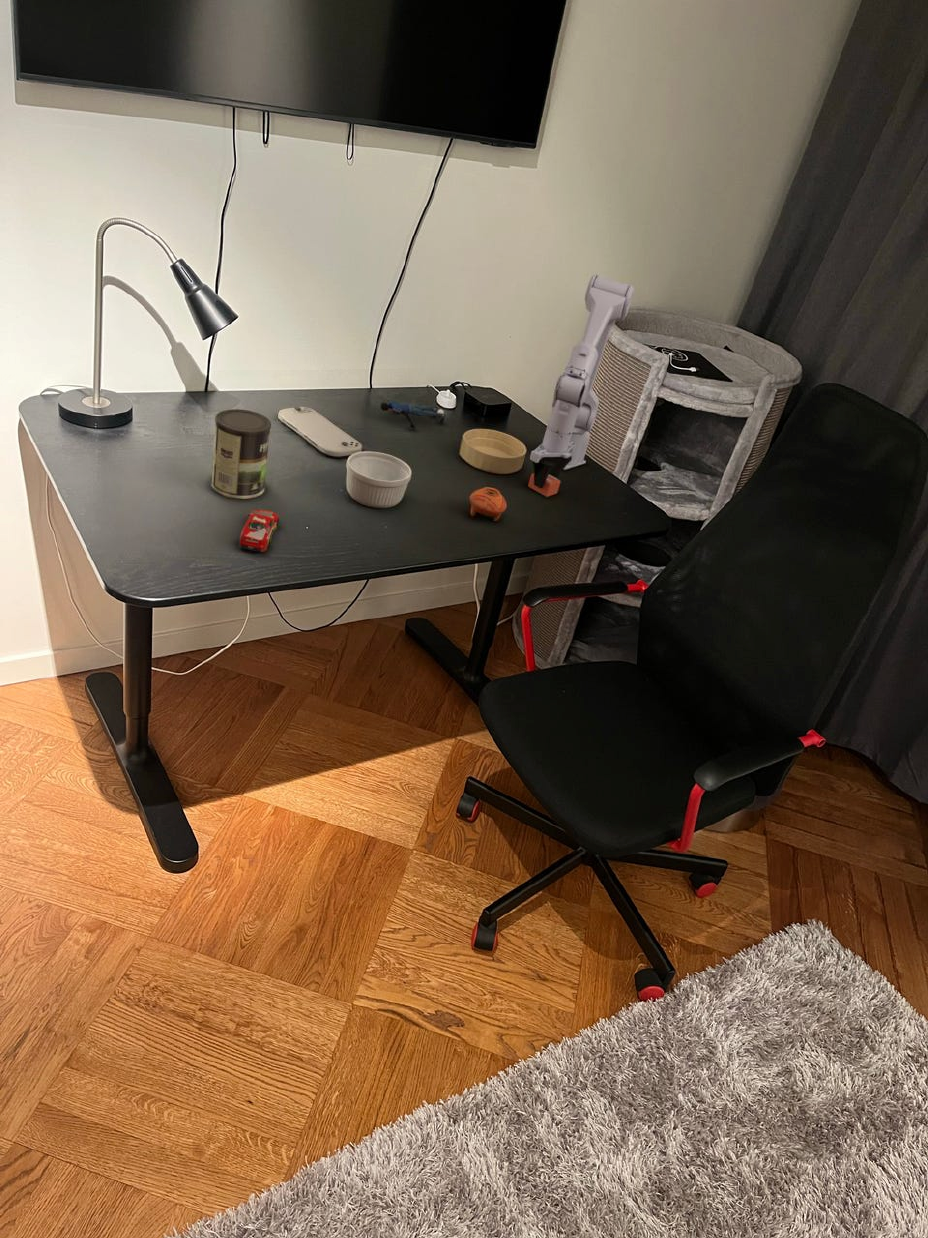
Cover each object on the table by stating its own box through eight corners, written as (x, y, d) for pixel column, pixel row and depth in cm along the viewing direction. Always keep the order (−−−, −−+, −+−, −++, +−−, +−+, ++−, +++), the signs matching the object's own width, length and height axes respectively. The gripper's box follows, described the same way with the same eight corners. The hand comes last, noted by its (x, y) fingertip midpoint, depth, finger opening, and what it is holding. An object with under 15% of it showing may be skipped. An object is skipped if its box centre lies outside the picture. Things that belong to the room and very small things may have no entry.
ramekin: (415, 495, 192) (421, 465, 189) (390, 518, 182) (396, 487, 178) (358, 474, 195) (363, 444, 191) (331, 496, 184) (335, 465, 180)
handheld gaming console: (273, 406, 208) (309, 402, 214) (272, 417, 209) (308, 413, 216) (331, 449, 195) (368, 444, 202) (329, 461, 197) (366, 455, 203)
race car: (252, 516, 171) (254, 497, 169) (281, 522, 171) (283, 504, 169) (233, 550, 160) (235, 530, 158) (264, 556, 160) (266, 537, 158)
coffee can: (267, 479, 184) (274, 414, 176) (261, 503, 176) (267, 435, 168) (215, 470, 182) (219, 404, 175) (206, 494, 174) (210, 425, 166)
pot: (463, 501, 194) (477, 475, 191) (496, 516, 196) (510, 490, 192) (462, 518, 187) (477, 490, 184) (496, 533, 189) (511, 506, 185)
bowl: (487, 441, 224) (491, 424, 222) (534, 467, 217) (539, 450, 215) (445, 452, 214) (449, 434, 211) (494, 480, 207) (498, 462, 204)
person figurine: (428, 417, 234) (367, 408, 223) (433, 400, 232) (372, 391, 221) (449, 435, 226) (387, 427, 216) (455, 418, 224) (392, 410, 214)
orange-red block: (538, 482, 211) (542, 468, 209) (557, 493, 208) (561, 479, 206) (527, 486, 208) (531, 472, 206) (546, 497, 205) (550, 482, 204)
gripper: (554, 442, 193) (538, 498, 200) (592, 431, 203) (575, 485, 211) (529, 428, 196) (514, 484, 204) (568, 418, 206) (552, 472, 214)
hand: (543, 484), depth 207 cm, fingers closed on orange-red block, 4 cm apart
